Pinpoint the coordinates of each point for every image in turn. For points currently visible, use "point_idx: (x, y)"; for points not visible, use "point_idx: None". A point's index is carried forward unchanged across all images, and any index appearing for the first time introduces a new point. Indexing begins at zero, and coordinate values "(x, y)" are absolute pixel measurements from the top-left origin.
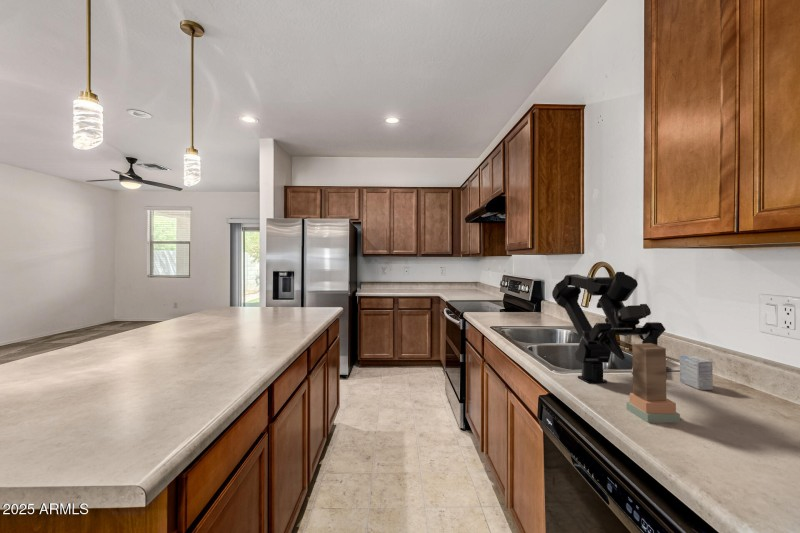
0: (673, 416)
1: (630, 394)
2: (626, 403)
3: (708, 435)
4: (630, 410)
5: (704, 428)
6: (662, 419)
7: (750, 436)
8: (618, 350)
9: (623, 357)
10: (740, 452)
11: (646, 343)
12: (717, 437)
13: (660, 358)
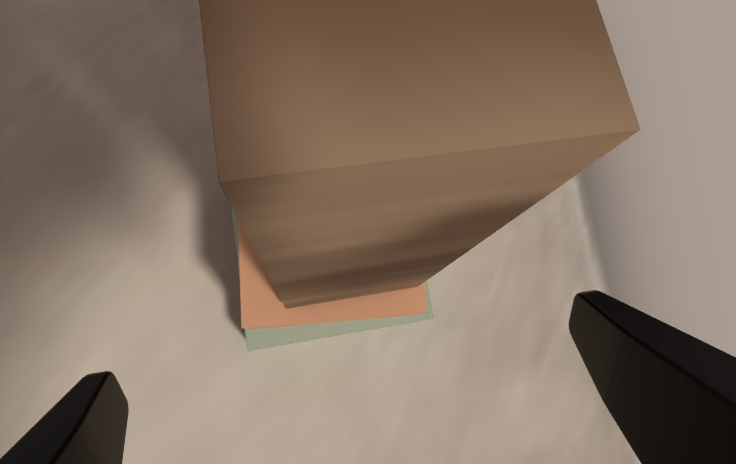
0: None
1: (426, 302)
2: (432, 317)
3: (203, 58)
4: None
5: (167, 123)
6: None
7: (22, 61)
8: (704, 344)
9: (596, 290)
10: None
11: (341, 153)
12: (178, 43)
13: None
